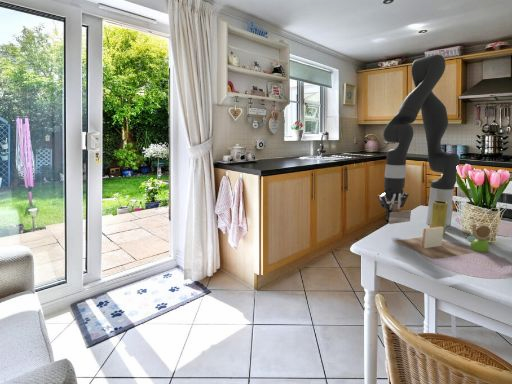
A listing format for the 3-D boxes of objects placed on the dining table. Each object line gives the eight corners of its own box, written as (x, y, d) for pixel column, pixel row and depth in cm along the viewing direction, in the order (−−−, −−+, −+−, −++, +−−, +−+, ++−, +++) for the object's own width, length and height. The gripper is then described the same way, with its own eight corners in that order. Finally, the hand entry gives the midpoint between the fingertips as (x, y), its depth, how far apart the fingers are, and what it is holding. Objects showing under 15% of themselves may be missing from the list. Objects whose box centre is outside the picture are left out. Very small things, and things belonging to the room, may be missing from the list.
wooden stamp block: (378, 219, 128) (379, 203, 127) (398, 217, 131) (399, 200, 130) (389, 224, 123) (391, 206, 121) (410, 221, 126) (411, 204, 124)
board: (429, 239, 127) (429, 236, 126) (472, 256, 110) (473, 252, 110) (393, 244, 121) (393, 240, 120) (432, 263, 104) (433, 258, 104)
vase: (447, 238, 128) (451, 204, 125) (430, 237, 129) (435, 203, 126) (441, 233, 134) (446, 200, 131) (426, 232, 135) (430, 200, 132)
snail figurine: (463, 250, 115) (468, 218, 113) (481, 250, 115) (486, 219, 113) (473, 256, 110) (478, 223, 108) (492, 256, 110) (497, 223, 107)
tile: (438, 244, 117) (440, 226, 116) (441, 245, 116) (443, 227, 114) (421, 247, 114) (423, 228, 113) (424, 248, 113) (426, 229, 112)
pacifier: (463, 245, 121) (482, 247, 118) (464, 229, 120) (483, 231, 117) (461, 239, 128) (480, 242, 125) (463, 224, 126) (481, 226, 123)
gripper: (401, 173, 130) (398, 214, 134) (373, 175, 126) (371, 217, 130) (416, 176, 124) (412, 218, 127) (387, 178, 119) (384, 222, 123)
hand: (391, 218), depth 128 cm, fingers closed on wooden stamp block, 2 cm apart
